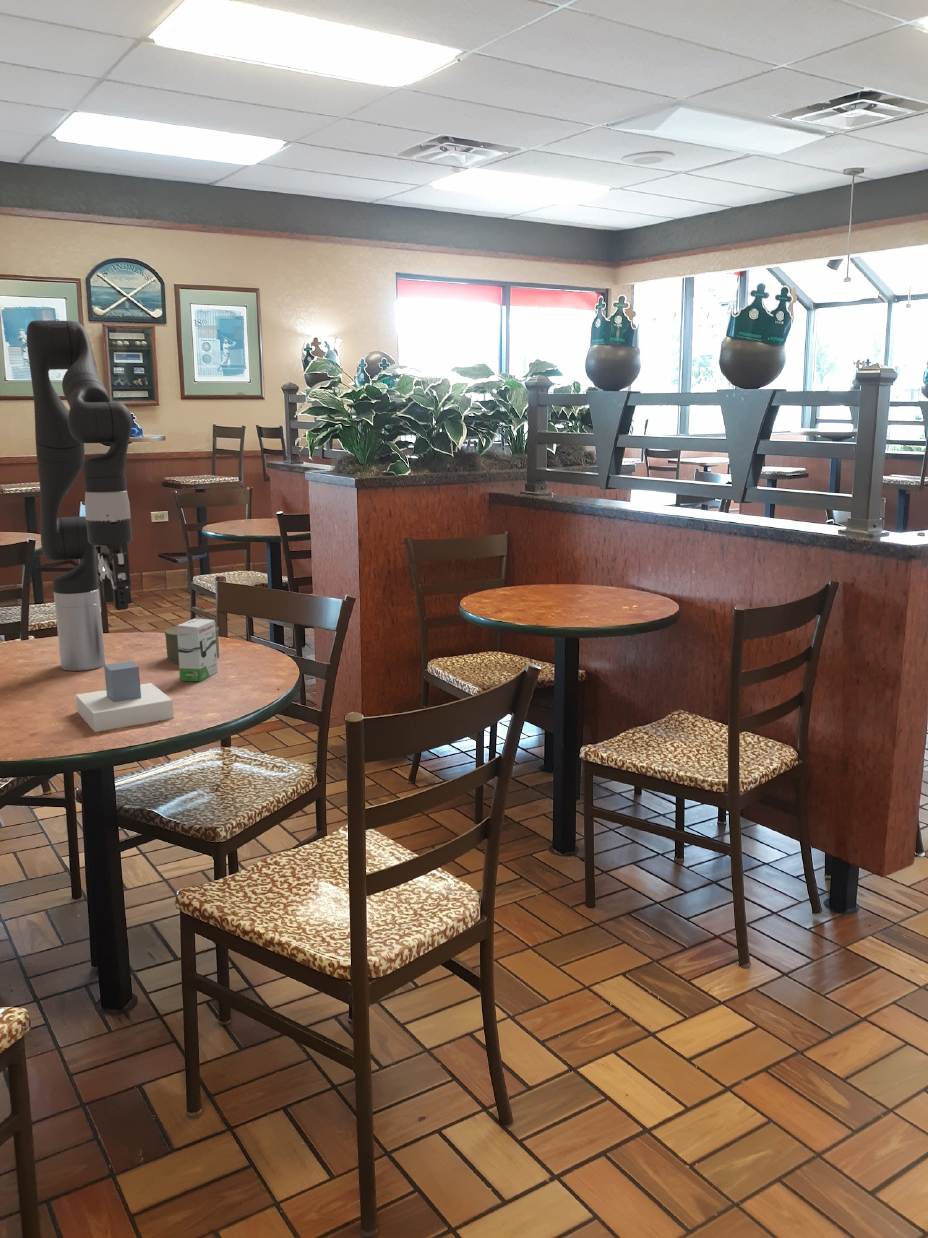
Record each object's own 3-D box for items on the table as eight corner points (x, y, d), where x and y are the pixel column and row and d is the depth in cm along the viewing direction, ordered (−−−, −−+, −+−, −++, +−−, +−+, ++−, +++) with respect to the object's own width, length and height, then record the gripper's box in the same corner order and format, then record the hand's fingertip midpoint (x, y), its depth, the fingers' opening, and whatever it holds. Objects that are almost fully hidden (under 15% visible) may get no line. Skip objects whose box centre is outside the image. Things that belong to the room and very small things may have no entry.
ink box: (200, 682, 202) (196, 626, 199) (178, 681, 203) (174, 626, 200) (219, 671, 210) (215, 618, 207) (198, 670, 211) (194, 617, 208)
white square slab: (77, 715, 182) (75, 694, 181) (152, 702, 190) (150, 682, 189) (95, 735, 171) (93, 713, 170) (174, 720, 178) (172, 699, 177)
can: (164, 666, 215) (162, 636, 214) (168, 653, 227) (166, 624, 225) (219, 662, 218) (217, 633, 216) (221, 650, 229) (219, 622, 228)
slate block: (106, 696, 180) (104, 665, 179) (134, 691, 183) (131, 661, 182) (113, 702, 176) (110, 670, 175) (141, 697, 179) (138, 666, 178)
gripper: (78, 514, 176) (86, 601, 180) (95, 521, 164) (103, 614, 168) (120, 511, 180) (127, 597, 184) (140, 518, 168) (147, 609, 172)
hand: (115, 605), depth 176 cm, fingers open, 8 cm apart
